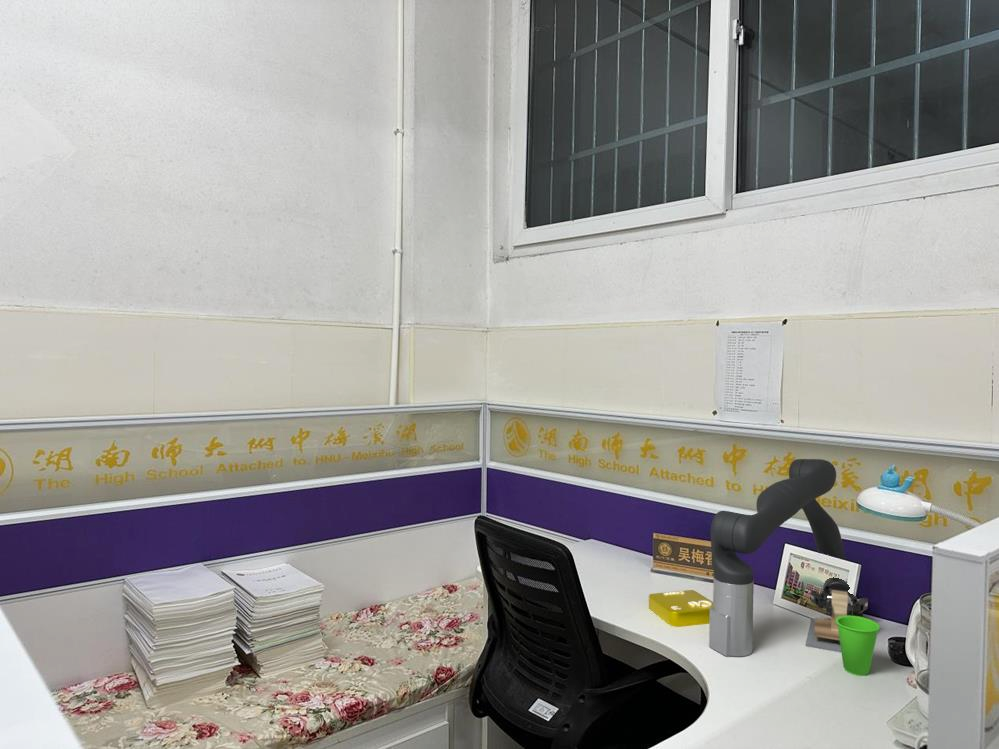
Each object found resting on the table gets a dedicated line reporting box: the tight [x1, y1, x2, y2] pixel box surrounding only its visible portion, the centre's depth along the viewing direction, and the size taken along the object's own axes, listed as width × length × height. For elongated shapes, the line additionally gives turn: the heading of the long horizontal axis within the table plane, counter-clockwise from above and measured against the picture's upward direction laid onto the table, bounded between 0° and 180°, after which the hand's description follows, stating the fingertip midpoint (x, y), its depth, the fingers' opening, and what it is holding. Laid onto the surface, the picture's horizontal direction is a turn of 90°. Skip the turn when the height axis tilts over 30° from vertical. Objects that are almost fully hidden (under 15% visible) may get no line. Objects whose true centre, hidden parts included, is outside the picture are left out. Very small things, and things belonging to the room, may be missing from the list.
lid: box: [814, 590, 848, 640], centre depth 176 cm, size 11×11×10 cm
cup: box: [835, 615, 881, 677], centre depth 160 cm, size 9×9×11 cm
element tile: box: [648, 589, 713, 628], centre depth 193 cm, size 15×15×5 cm
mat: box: [805, 618, 841, 653], centre depth 178 cm, size 18×13×1 cm
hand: (839, 612), depth 173 cm, fingers closed on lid, 3 cm apart
